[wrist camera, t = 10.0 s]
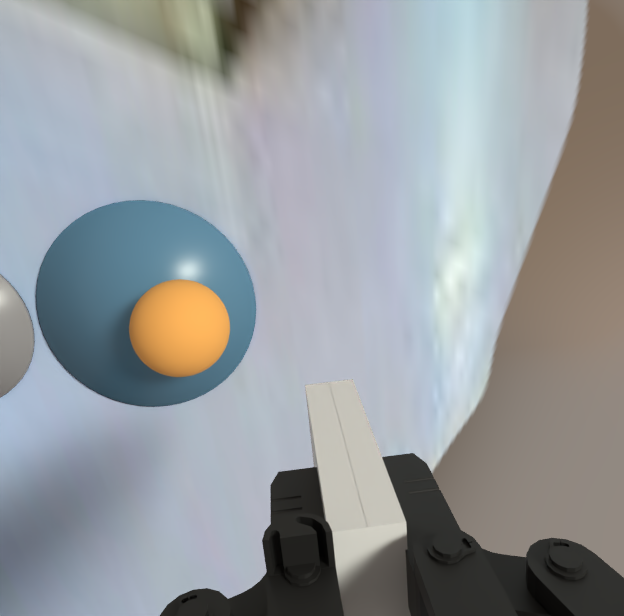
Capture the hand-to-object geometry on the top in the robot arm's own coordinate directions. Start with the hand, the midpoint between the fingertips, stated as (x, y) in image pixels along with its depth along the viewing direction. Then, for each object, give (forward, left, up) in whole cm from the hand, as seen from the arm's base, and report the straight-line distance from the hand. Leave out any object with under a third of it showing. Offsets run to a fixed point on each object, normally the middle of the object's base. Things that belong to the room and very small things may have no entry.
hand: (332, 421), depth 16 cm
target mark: (-7, +7, -16) cm, 19 cm away
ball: (-5, +5, -14) cm, 15 cm away
